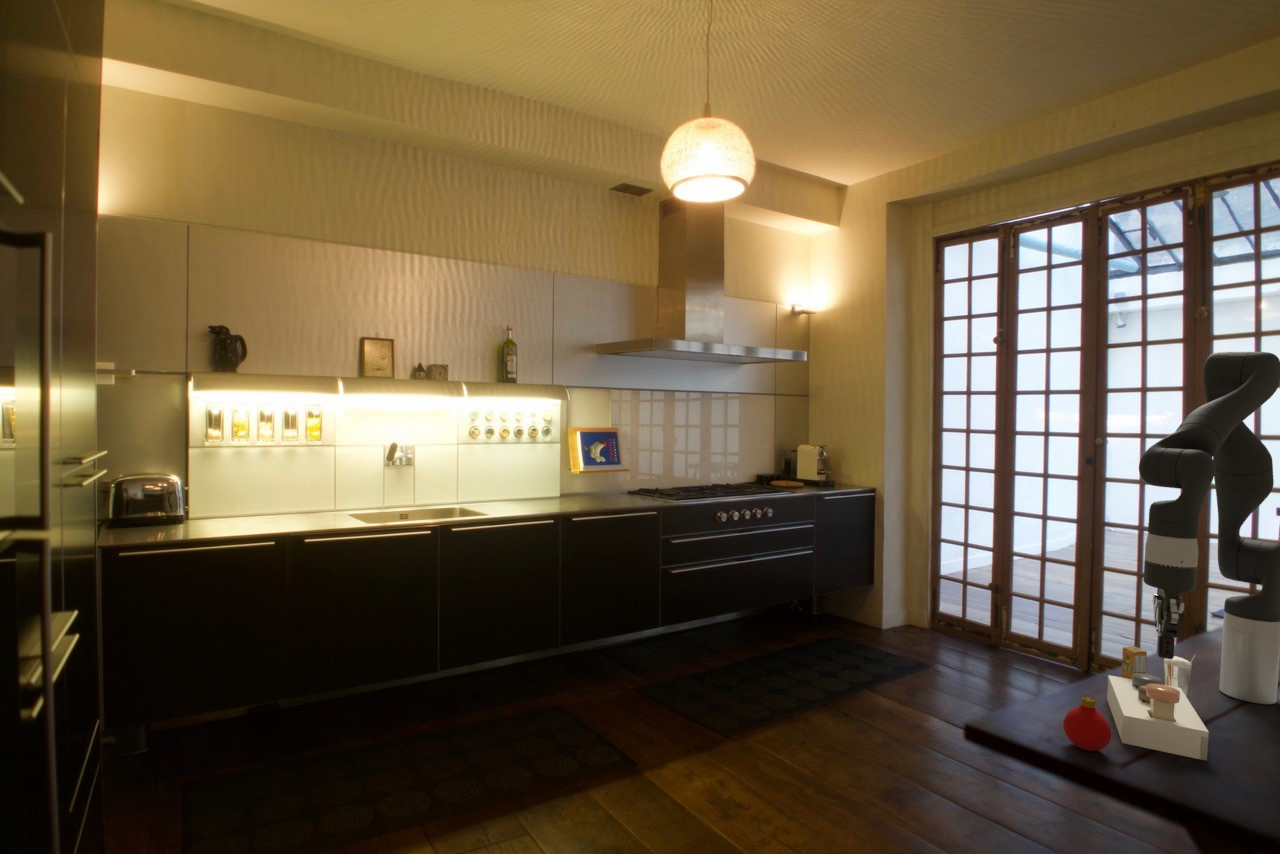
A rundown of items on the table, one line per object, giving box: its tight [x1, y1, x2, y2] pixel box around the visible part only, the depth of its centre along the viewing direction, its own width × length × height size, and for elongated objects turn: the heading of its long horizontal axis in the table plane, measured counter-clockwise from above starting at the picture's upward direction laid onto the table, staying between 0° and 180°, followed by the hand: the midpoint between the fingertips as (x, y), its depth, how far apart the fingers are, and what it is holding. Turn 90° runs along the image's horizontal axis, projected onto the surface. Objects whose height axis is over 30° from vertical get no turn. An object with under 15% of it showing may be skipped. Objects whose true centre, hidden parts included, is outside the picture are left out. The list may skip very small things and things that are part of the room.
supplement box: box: [1121, 646, 1148, 679], centre depth 147 cm, size 3×3×10 cm
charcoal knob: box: [1132, 673, 1163, 689], centre depth 139 cm, size 5×5×6 cm
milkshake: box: [1163, 654, 1196, 697], centre depth 145 cm, size 5×5×10 cm
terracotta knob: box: [1146, 684, 1180, 722], centre depth 125 cm, size 5×5×6 cm
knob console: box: [1106, 674, 1210, 762], centre depth 132 cm, size 22×12×5 cm, turn 152°
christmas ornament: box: [1063, 691, 1112, 752], centre depth 122 cm, size 7×7×10 cm
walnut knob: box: [1138, 686, 1150, 703], centre depth 132 cm, size 5×5×6 cm
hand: (1164, 657), depth 125 cm, fingers closed
